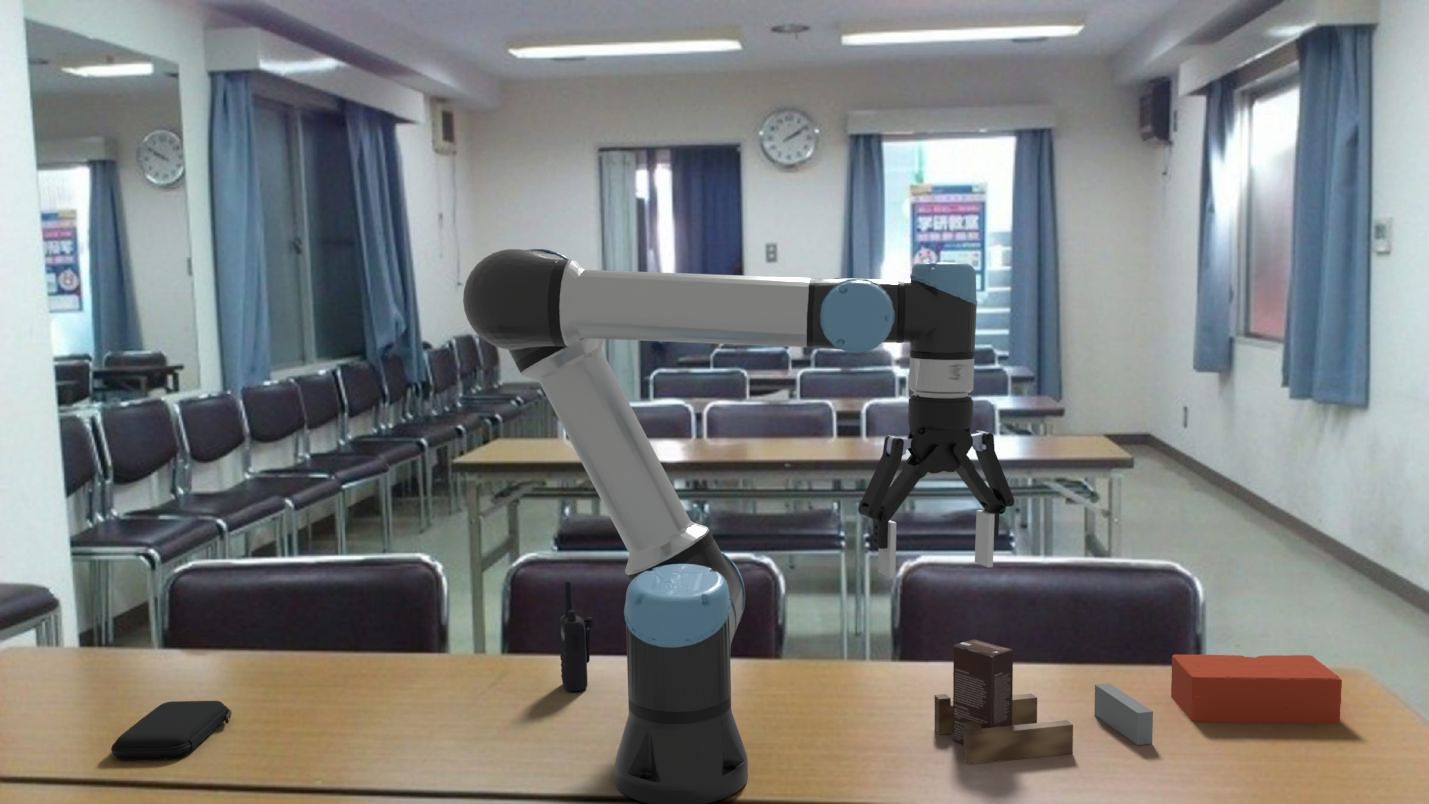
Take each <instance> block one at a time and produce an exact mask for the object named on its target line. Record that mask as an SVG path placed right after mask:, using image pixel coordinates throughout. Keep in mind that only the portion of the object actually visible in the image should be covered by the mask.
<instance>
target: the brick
mask: <svg viewBox="0 0 1429 804" xmlns="http://www.w3.org/2000/svg"><path fill="white" fill-rule="evenodd" d="M1342 680H1343V679H1342V678H1341V677H1340V676H1338V674H1336V673H1335V672H1333V671H1332V670H1331V669H1329V668H1328V667H1327V666H1326V665H1325V664H1323V663H1322V662H1320V661H1319V660H1318V659H1316V657H1315V656H1313V655H1307V654H1306V655H1305V654H1303V655H1302V654H1301V655H1300V654H1299V655H1298V654H1295V655H1294V654H1292V655H1291V654H1289V655H1282V654H1281V655H1277V654H1276V655H1275V654H1273V655H1258V656H1256V657H1254V656H1245V655H1241V654H1240V655H1235V654H1233V655H1232V654H1173V655H1172V656H1171V686H1170V690H1171V691H1170V696H1171V697H1170V698H1172V700H1173V701H1174V702H1175V703H1176V705H1177V706H1178V707H1179V708H1180V709H1181V711H1183V712H1184V714H1185V715H1186V716H1187V717H1188V718H1189V720H1190V721H1192V722H1195V723H1196V722H1198V723H1199V722H1200V723H1201V722H1203V723H1206V722H1207V723H1270V724H1271V723H1272V724H1273V723H1274V724H1275V723H1276V724H1278V723H1279V724H1281V723H1284V724H1285V723H1287V724H1288V723H1289V724H1291V723H1292V724H1340V723H1341V718H1340V717H1341V704H1342V687H1343V685H1342V684H1343V681H1342Z"/></svg>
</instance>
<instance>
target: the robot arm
mask: <svg viewBox="0 0 1429 804" xmlns="http://www.w3.org/2000/svg"><path fill="white" fill-rule="evenodd" d="M464 284H465V285H464V289H463V295H462V296H463V298H462V304H463V309H464V313H465V316H466V320H467V321H468V323H469V325H470V326H471V328H472V329H473V331H474V332H475V333H476V335H478V336H479V338H481V339H482V340H484V341H486V342H487V343H488V344H490V345H492V346H495V347H496V348H500V349H503V350H507V351H508V353H509V354H510V356H511V358H512V360H513V361H514V363H515V364H514V365H516V368H517V369H518V371H519V373H520V374H521V376H522V377H525V378H528V379H531V380H534V381H536V382H538V383H539V384H540V386H541V388H542V390H543V393H544V394H545V396H546V398H547V399H548V401H549V404H550V405H551V407H552V409H553V411H554V413H555V414H556V416H557V418H558V421H559V422H560V424H561V426H562V428H563V430H564V432H565V433H566V436H567V437H568V439H569V441H570V443H571V445H572V447H573V449H574V451H575V452H576V454H577V456H578V459H579V460H580V462H581V464H582V467H584V470H585V472H586V474H587V475H588V478H589V480H590V481H591V483H592V485H593V486H594V487H593V488H594V489H595V491H596V494H598V496H599V498H600V500H601V502H602V504H603V506H604V508H605V511H606V512H607V514H608V515H609V518H610V520H611V521H612V523H613V525H614V527H615V529H616V530H617V532H618V535H619V537H620V539H621V540H622V542H623V544H624V546H625V548H626V550H627V552H628V559H627V562H626V563H627V564H626V567H625V570H624V573H625V574H626V576H627V578H628V581H629V582H630V583H629V584H628V587H627V589H626V593H625V603H624V606H623V607H624V609H623V615H624V621H625V633H626V635H625V636H626V640H625V641H626V661H627V662H626V664H627V665H626V666H627V695H628V717H627V720H626V722H625V726H624V728H623V729H624V730H623V732H622V736H621V740H620V743H619V746H618V749H617V752H616V756H615V760H614V780H615V786H616V787H617V789H618V790H619V791H620V792H621V793H622V794H623V795H625V796H626V797H629V798H631V799H633V800H635V801H638V802H640V803H641V802H642V803H645V804H710V803H714V802H719V801H721V800H723V799H727V798H728V797H730V796H733V795H734V794H737V792H739V791H740V790H742V788H744V786H745V785H746V783H747V782H748V780H749V779H748V778H749V765H748V763H749V761H748V760H749V759H748V756H747V755H748V754H747V751H746V748H745V746H744V742H743V740H742V737H741V733H740V732H739V728H738V726H737V723H736V720H735V717H734V714H733V711H732V680H731V679H732V678H731V677H732V675H731V673H732V672H731V671H732V670H731V667H732V666H731V650H732V649H731V647H732V646H731V645H732V642H733V639H734V637H735V634H736V631H737V629H738V625H740V622H741V620H742V619H743V614H744V610H745V605H746V592H745V583H744V581H743V577H742V574H741V572H740V570H739V568H738V566H737V565H736V563H735V562H734V561H733V560H732V559H731V558H730V557H729V555H726V553H724V552H722V551H721V549H720V548H719V546H718V544H717V542H716V540H715V539H714V536H713V534H712V532H711V530H710V529H709V527H708V526H705V525H701V524H699V523H696V522H694V521H692V520H691V518H690V517H689V514H688V513H687V511H686V509H685V508H684V505H683V503H682V502H681V499H680V498H679V496H678V494H677V492H676V489H675V488H674V486H673V484H672V483H671V481H670V478H669V476H668V474H667V472H666V471H665V469H664V467H663V465H662V464H661V463H662V462H661V461H660V459H659V458H658V455H657V454H656V452H655V449H654V448H653V445H652V444H651V442H650V440H649V438H648V437H647V434H646V433H645V431H644V429H643V427H642V424H640V421H639V419H638V417H637V415H636V413H635V412H634V410H633V407H632V406H631V404H630V402H629V400H628V397H626V394H625V392H624V391H623V388H622V386H621V385H620V383H619V381H618V379H617V377H616V375H615V373H614V372H613V371H614V370H613V369H612V367H611V366H610V364H609V361H608V360H607V358H606V356H605V354H604V352H603V344H604V341H605V340H619V341H621V340H622V341H644V342H645V341H646V342H647V341H648V342H649V341H650V342H668V343H669V342H672V343H692V344H693V343H695V344H720V345H740V346H741V345H742V346H744V345H745V346H766V347H767V346H768V347H769V346H770V347H789V348H790V347H791V348H794V347H795V348H812V349H828V350H829V349H830V350H842V351H843V352H845V353H846V352H847V353H851V354H852V353H853V354H854V353H867V352H870V351H873V350H874V349H876V348H877V347H878V346H880V345H881V344H882V343H883V344H884V343H886V344H887V343H891V344H892V343H896V344H903V343H908V344H909V348H910V350H909V371H908V372H909V373H908V374H909V375H908V378H909V379H908V388H909V390H910V391H911V392H913V394H911V395H910V396H909V397H908V412H907V414H908V415H907V423H908V428H909V433H908V435H907V438H904V437H898V436H893V435H889V434H888V435H886V436H885V438H884V439H883V441H884V442H883V449H882V454H881V457H880V459H879V461H878V464H877V465H876V467H875V470H874V472H873V475H872V477H871V479H870V482H869V484H868V485H867V488H866V489H865V492H864V494H863V497H862V499H861V501H860V503H859V506H858V507H857V509H858V510H857V512H858V513H859V514H860V515H862V516H866V517H867V518H871V520H872V523H873V526H872V544H873V546H874V547H876V548H878V549H877V550H878V555H877V558H878V561H877V562H878V563H877V572H878V573H879V574H882V575H883V576H886V577H887V578H889V579H891V578H896V563H897V562H896V561H897V560H896V559H897V558H896V557H897V556H896V555H897V554H896V553H897V522H896V521H894V520H891V519H892V518H893V516H894V515H895V514H896V512H897V511H898V510H899V508H900V507H901V505H902V504H903V503H904V502H905V500H906V499H907V497H908V496H909V495H910V493H911V492H912V490H913V489H914V488H915V486H917V484H918V483H919V481H920V480H921V479H923V478H924V477H925V476H926V475H927V474H928V473H930V474H939V473H942V472H946V473H955V472H956V474H957V475H958V476H959V478H960V479H961V480H962V482H963V483H964V485H966V487H967V488H968V490H969V491H970V492H971V494H972V495H973V496H974V498H975V499H976V501H978V502H979V505H980V506H981V507H982V508H983V509H978V510H976V512H975V543H974V545H975V546H974V563H976V564H978V565H980V566H983V567H986V568H994V547H995V546H994V543H995V542H994V541H995V540H994V539H997V538H998V536H999V534H1000V533H999V531H1000V528H999V527H1000V515H1004V514H1005V512H1006V509H1007V507H1010V508H1011V507H1013V506H1014V505H1015V498H1014V495H1013V493H1012V490H1011V488H1010V485H1009V483H1008V481H1007V478H1006V475H1005V473H1004V471H1003V467H1002V466H1001V463H1000V459H999V458H998V454H997V453H996V451H995V450H996V449H995V437H994V434H993V433H991V432H987V431H983V430H976V431H974V433H971V427H972V425H973V422H974V421H973V420H974V399H973V398H972V396H971V395H969V394H970V393H971V392H972V391H974V385H975V384H974V382H975V381H974V379H975V378H974V377H975V354H976V353H975V349H976V348H975V347H976V333H977V332H976V328H977V327H976V326H977V309H978V308H977V306H978V301H977V272H976V269H975V268H974V267H973V266H972V265H971V264H969V263H968V262H967V263H966V262H916V263H915V264H913V266H912V268H911V273H910V275H909V278H898V279H882V278H881V279H880V278H879V279H878V278H845V277H844V278H843V277H832V278H810V277H784V276H763V275H761V276H758V275H738V274H737V275H735V274H734V275H733V274H708V273H683V272H660V271H659V272H657V271H628V270H627V271H626V270H602V269H599V270H598V269H584V268H583V267H582V266H581V264H579V262H578V261H577V260H574V259H569V258H567V257H566V256H565V255H563V254H561V253H558V251H557V252H556V251H553V250H550V249H543V248H533V249H520V248H519V249H518V248H517V249H515V248H508V249H501V250H498V251H496V252H495V251H494V252H492V253H491V254H489V255H487V256H485V257H483V258H482V259H481V260H480V261H479V262H478V263H476V265H475V267H474V268H473V269H472V270H471V272H470V274H469V275H468V277H467V279H466V281H465V283H464ZM971 449H973V450H974V451H975V454H976V458H977V461H978V462H979V465H980V467H981V469H982V472H983V475H984V477H985V479H986V482H987V483H986V482H985V480H984V479H983V478H982V477H981V475H980V474H979V473H978V471H977V470H976V466H975V464H974V463H973V461H972V460H971V459H970V457H969V456H968V453H969V451H970V450H971ZM907 451H908V453H909V454H910V455H909V457H908V458H907V460H906V461H905V462H904V463H903V465H902V469H901V471H900V473H899V474H898V475H897V477H896V478H895V476H896V473H897V471H898V469H899V468H900V465H901V462H902V458H903V457H904V456H905V455H906V454H907ZM894 478H895V479H894Z"/></svg>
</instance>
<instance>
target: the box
mask: <svg viewBox="0 0 1429 804" xmlns="http://www.w3.org/2000/svg"><path fill="white" fill-rule="evenodd" d="M952 648H953V655H952V656H953V672H952V675H953V676H952V677H953V679H952V680H953V681H952V683H953V687H952V688H953V690H952V692H953V694H952V695H953V696H952V697H953V698H952V701H953V733H952V740H953V741H954V742H957V743H960V744H963V745H964V722H970V721H977V722H978V723H979V724H980V725H981V729H983V728H993V727H1003V726H1012V697H1013V695H1014V694H1013V689H1014V688H1013V687H1014V686H1013V684H1014V683H1013V679H1014V672H1013V671H1014V649H1012V648H1010V647H1009V648H1008V647H1004V646H1000V645H996V644H992V643H989V642H985V641H982V640H979V639H971V640H967V641H962V642H960V643H956V644H954V645H953V647H952Z"/></svg>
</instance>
